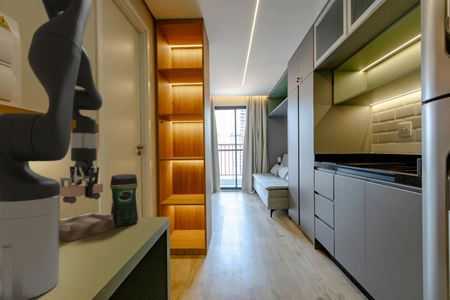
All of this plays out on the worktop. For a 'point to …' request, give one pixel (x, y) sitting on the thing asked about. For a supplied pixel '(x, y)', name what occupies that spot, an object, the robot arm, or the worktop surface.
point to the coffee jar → (124, 199)
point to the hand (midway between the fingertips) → (83, 196)
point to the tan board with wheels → (77, 190)
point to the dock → (84, 226)
